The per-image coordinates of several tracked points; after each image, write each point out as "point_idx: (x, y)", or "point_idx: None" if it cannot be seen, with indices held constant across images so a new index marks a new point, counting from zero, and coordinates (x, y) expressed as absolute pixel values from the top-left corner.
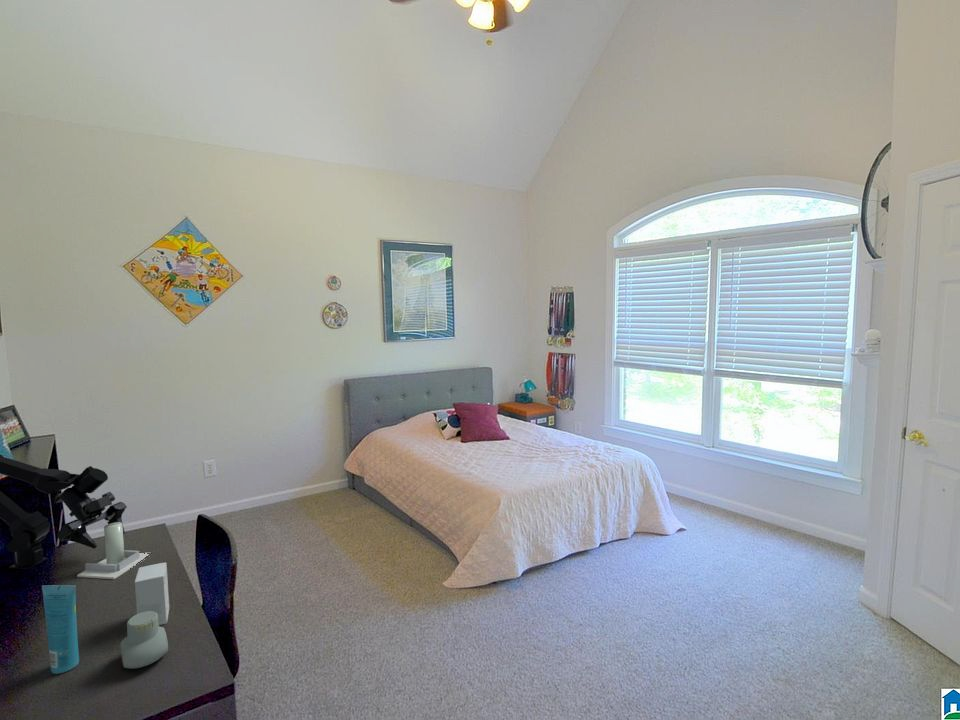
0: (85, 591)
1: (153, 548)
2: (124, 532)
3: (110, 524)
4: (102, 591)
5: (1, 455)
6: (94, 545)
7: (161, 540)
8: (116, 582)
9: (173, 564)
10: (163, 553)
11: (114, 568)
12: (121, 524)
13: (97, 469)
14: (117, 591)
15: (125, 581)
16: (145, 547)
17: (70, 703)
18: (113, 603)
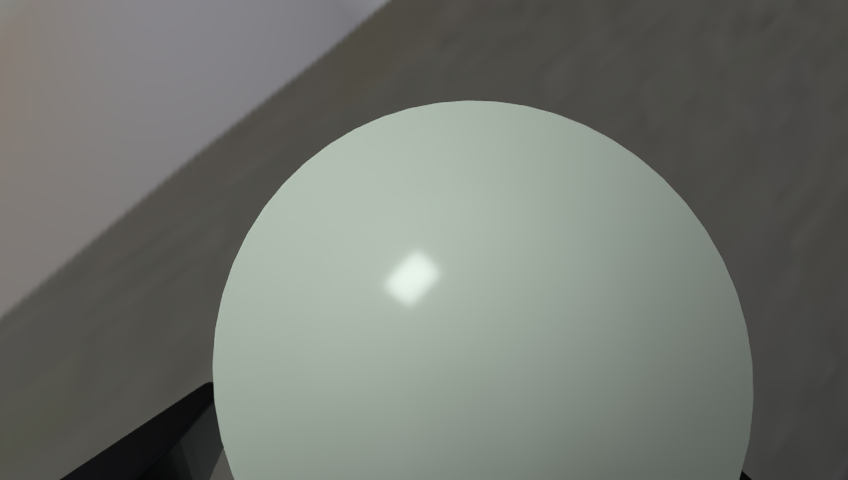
0: (799, 272)
1: (169, 275)
2: (204, 386)
3: None
4: (758, 164)
5: None
6: (746, 478)
7: (27, 314)
8: (648, 163)
9: (394, 2)
10: (253, 149)
11: None
12: (386, 121)
13: None
14: (727, 82)
15: (623, 120)
16: (146, 354)
17: None
18: (825, 15)
